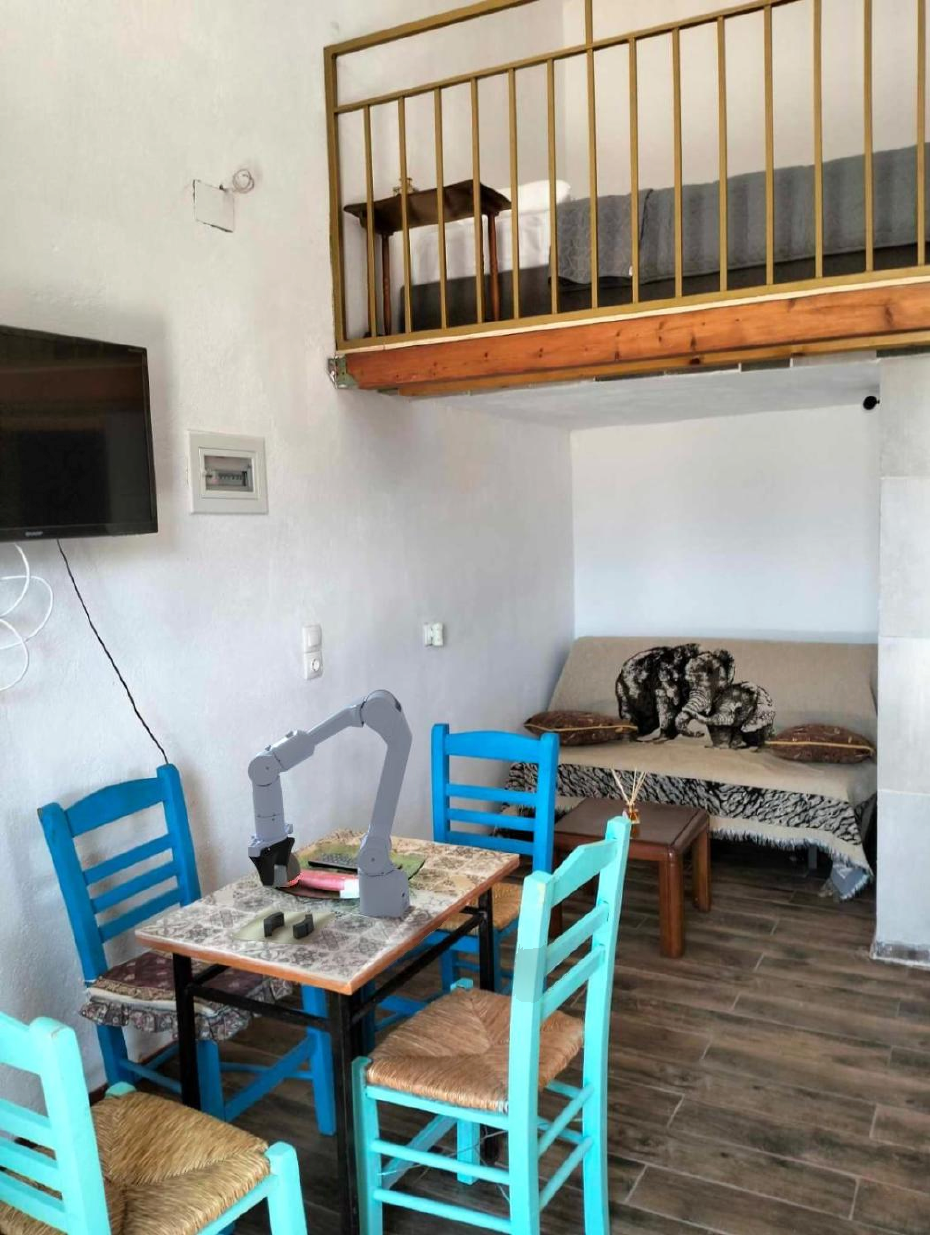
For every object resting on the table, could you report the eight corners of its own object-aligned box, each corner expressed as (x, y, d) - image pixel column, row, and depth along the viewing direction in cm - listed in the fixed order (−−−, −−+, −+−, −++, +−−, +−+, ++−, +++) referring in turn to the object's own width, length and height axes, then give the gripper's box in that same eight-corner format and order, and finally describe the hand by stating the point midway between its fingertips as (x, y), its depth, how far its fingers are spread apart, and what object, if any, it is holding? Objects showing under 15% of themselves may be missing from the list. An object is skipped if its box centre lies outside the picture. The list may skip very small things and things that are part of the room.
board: (338, 918, 195) (338, 914, 195) (305, 948, 182) (305, 944, 182) (266, 913, 200) (265, 909, 200) (229, 942, 187) (228, 938, 187)
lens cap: (291, 879, 198) (289, 863, 197) (281, 888, 193) (279, 872, 193) (268, 878, 199) (267, 863, 198) (258, 887, 194) (256, 871, 194)
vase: (305, 880, 217) (302, 842, 217) (297, 892, 211) (293, 852, 210) (274, 881, 218) (271, 842, 217) (265, 893, 211) (262, 853, 210)
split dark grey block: (318, 926, 190) (317, 914, 190) (303, 940, 184) (302, 927, 184) (275, 922, 193) (274, 910, 193) (259, 936, 187) (258, 924, 187)
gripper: (269, 801, 203) (274, 866, 204) (231, 823, 189) (237, 892, 190) (300, 802, 200) (305, 867, 202) (264, 824, 187) (270, 894, 188)
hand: (274, 880), depth 196 cm, fingers closed on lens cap, 5 cm apart
